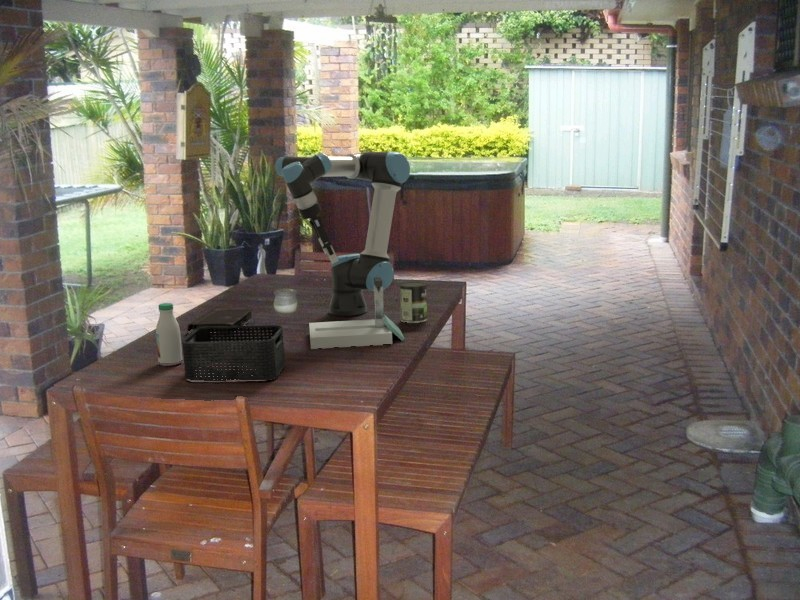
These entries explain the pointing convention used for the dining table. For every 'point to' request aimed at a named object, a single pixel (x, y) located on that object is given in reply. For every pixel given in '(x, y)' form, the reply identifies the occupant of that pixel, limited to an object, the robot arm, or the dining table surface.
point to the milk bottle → (168, 335)
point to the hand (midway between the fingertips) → (331, 257)
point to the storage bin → (234, 353)
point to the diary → (222, 318)
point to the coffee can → (413, 302)
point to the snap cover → (393, 328)
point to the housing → (348, 334)
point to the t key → (378, 303)
